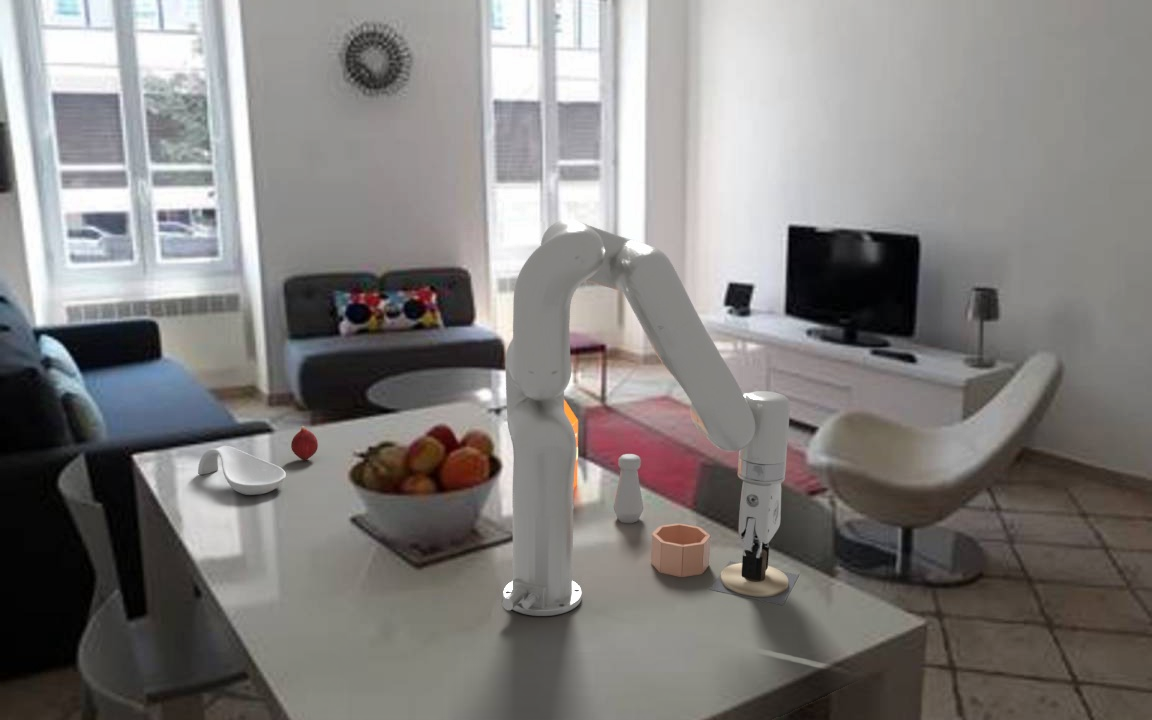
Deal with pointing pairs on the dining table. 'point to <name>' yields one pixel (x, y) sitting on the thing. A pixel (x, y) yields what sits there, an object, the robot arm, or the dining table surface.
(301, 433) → the onion
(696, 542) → the bowl
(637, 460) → the salt shaker
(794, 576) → the mat
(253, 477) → the spoon rest
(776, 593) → the lid
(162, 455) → the dining table surface
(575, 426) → the orange juice
